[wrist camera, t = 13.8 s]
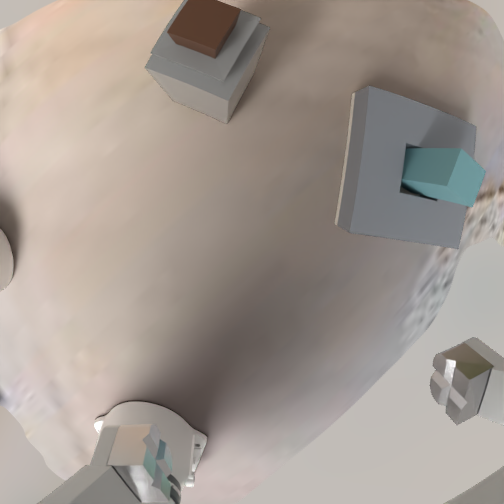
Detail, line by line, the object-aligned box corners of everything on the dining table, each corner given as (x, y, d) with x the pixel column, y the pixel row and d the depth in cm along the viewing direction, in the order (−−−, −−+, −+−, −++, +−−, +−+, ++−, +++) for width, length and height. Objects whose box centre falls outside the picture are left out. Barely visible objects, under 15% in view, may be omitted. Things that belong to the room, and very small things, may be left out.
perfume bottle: (226, 124, 34) (229, 86, 16) (172, 100, 32) (127, 48, 15) (253, 73, 32) (280, 1, 15) (200, 50, 31) (182, -33, 14)
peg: (410, 192, 36) (472, 207, 25) (386, 176, 36) (446, 186, 24) (422, 165, 36) (485, 171, 24) (398, 148, 35) (461, 148, 23)
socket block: (436, 239, 39) (458, 248, 35) (334, 224, 38) (349, 232, 33) (453, 127, 35) (476, 126, 31) (351, 93, 34) (369, 85, 29)
